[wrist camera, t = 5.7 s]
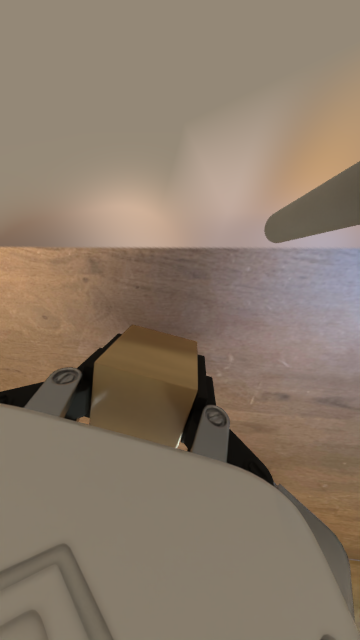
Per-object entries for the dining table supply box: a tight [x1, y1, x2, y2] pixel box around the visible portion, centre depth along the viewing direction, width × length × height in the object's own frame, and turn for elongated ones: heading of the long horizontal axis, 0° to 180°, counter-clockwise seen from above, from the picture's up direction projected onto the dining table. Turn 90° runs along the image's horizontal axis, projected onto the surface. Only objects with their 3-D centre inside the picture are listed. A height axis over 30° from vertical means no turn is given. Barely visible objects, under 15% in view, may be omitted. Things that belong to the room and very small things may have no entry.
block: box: [89, 325, 198, 448], centre depth 10 cm, size 5×5×5 cm
